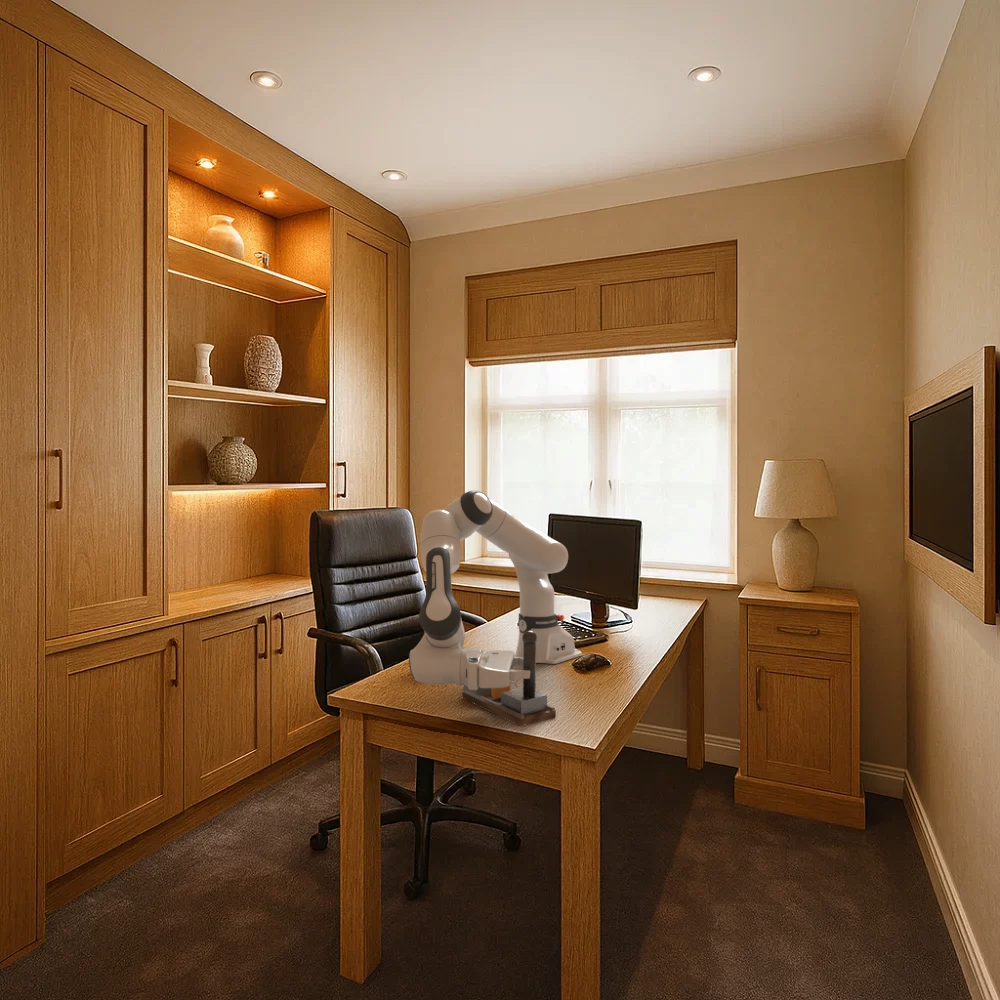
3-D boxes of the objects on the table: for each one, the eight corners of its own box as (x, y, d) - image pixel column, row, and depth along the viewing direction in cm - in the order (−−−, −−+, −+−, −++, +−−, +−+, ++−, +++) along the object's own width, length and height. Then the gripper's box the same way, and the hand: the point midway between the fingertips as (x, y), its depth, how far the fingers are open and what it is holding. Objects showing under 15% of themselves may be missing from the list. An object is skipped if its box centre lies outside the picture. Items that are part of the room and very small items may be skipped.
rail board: (496, 690, 190) (496, 682, 190) (555, 716, 170) (555, 707, 170) (462, 697, 183) (462, 689, 183) (520, 726, 163) (520, 716, 163)
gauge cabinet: (494, 685, 189) (494, 668, 189) (507, 690, 185) (507, 673, 184) (463, 691, 184) (463, 674, 183) (476, 697, 179) (476, 680, 179)
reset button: (507, 692, 181) (507, 683, 180) (510, 694, 179) (510, 684, 179) (491, 696, 178) (491, 686, 178) (494, 697, 176) (494, 688, 176)
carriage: (526, 700, 176) (527, 624, 176) (547, 709, 170) (547, 630, 169) (501, 706, 172) (501, 628, 171) (521, 715, 165) (521, 634, 164)
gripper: (479, 667, 180) (532, 669, 179) (469, 692, 160) (529, 694, 159) (479, 643, 180) (532, 645, 179) (469, 665, 160) (529, 667, 159)
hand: (531, 668), depth 169 cm, fingers open, 8 cm apart
